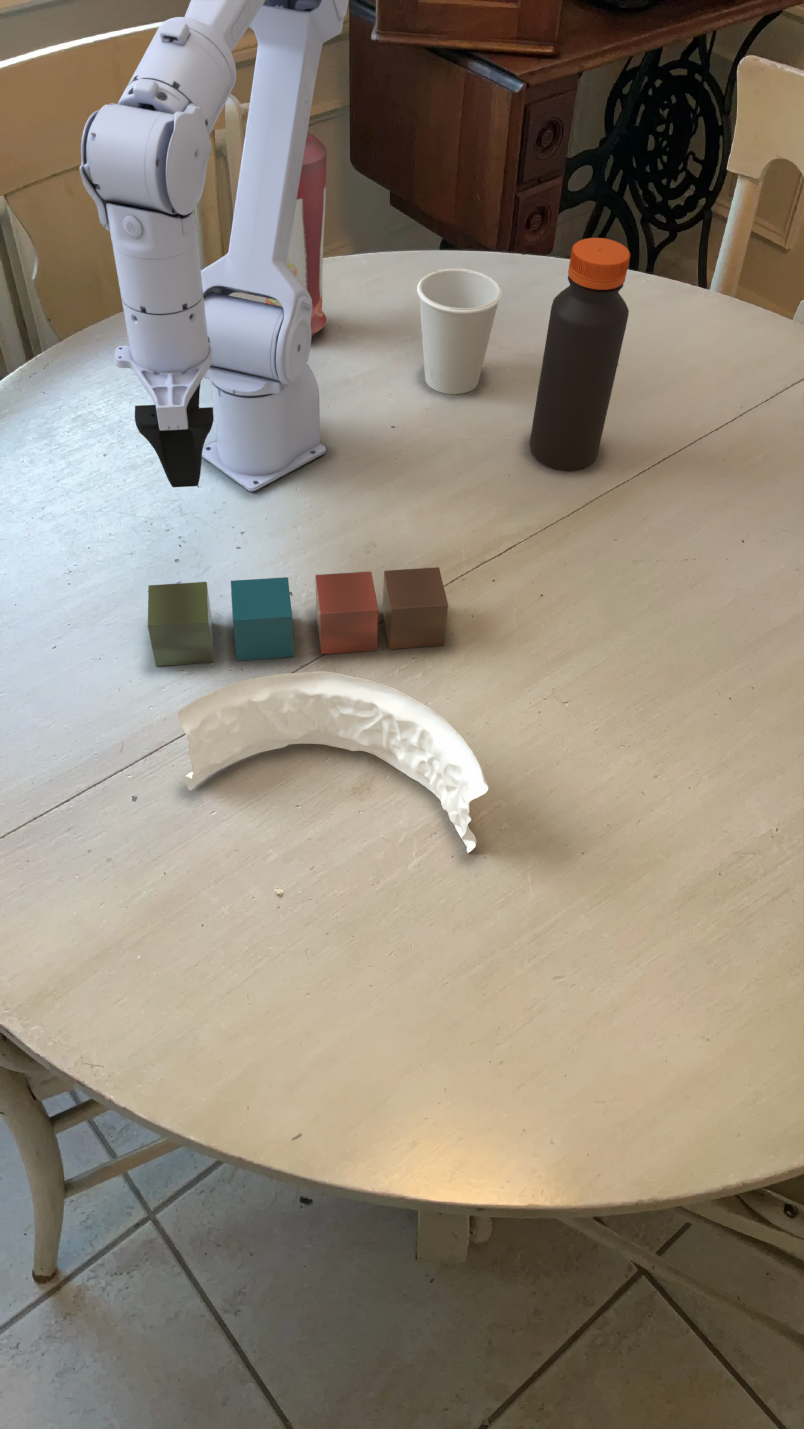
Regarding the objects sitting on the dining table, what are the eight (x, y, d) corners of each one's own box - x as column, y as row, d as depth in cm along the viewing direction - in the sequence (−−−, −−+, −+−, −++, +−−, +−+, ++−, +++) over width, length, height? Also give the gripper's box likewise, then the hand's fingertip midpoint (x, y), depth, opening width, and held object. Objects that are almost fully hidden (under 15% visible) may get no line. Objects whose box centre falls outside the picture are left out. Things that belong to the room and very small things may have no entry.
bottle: (519, 460, 102) (550, 259, 87) (540, 423, 106) (573, 225, 91) (587, 479, 100) (630, 277, 85) (605, 441, 105) (650, 242, 89)
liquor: (342, 330, 116) (342, 43, 95) (295, 355, 112) (284, 62, 91) (295, 306, 119) (285, 22, 98) (247, 329, 115) (226, 39, 94)
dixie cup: (449, 348, 114) (456, 259, 107) (507, 380, 111) (519, 290, 103) (395, 377, 110) (399, 286, 103) (454, 411, 107) (462, 319, 99)
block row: (435, 607, 88) (439, 566, 85) (444, 645, 85) (448, 605, 82) (156, 626, 85) (148, 584, 82) (155, 666, 82) (147, 625, 79)
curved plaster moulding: (481, 856, 72) (489, 777, 66) (186, 884, 70) (168, 805, 64) (454, 736, 80) (460, 655, 74) (189, 758, 78) (173, 677, 72)
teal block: (290, 617, 87) (287, 576, 83) (294, 657, 84) (292, 616, 80) (234, 621, 86) (230, 580, 83) (237, 661, 83) (232, 620, 80)
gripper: (108, 247, 79) (135, 405, 89) (100, 351, 69) (131, 514, 80) (203, 244, 79) (219, 401, 90) (208, 347, 70) (225, 509, 81)
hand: (184, 454), depth 85 cm, fingers open, 7 cm apart
